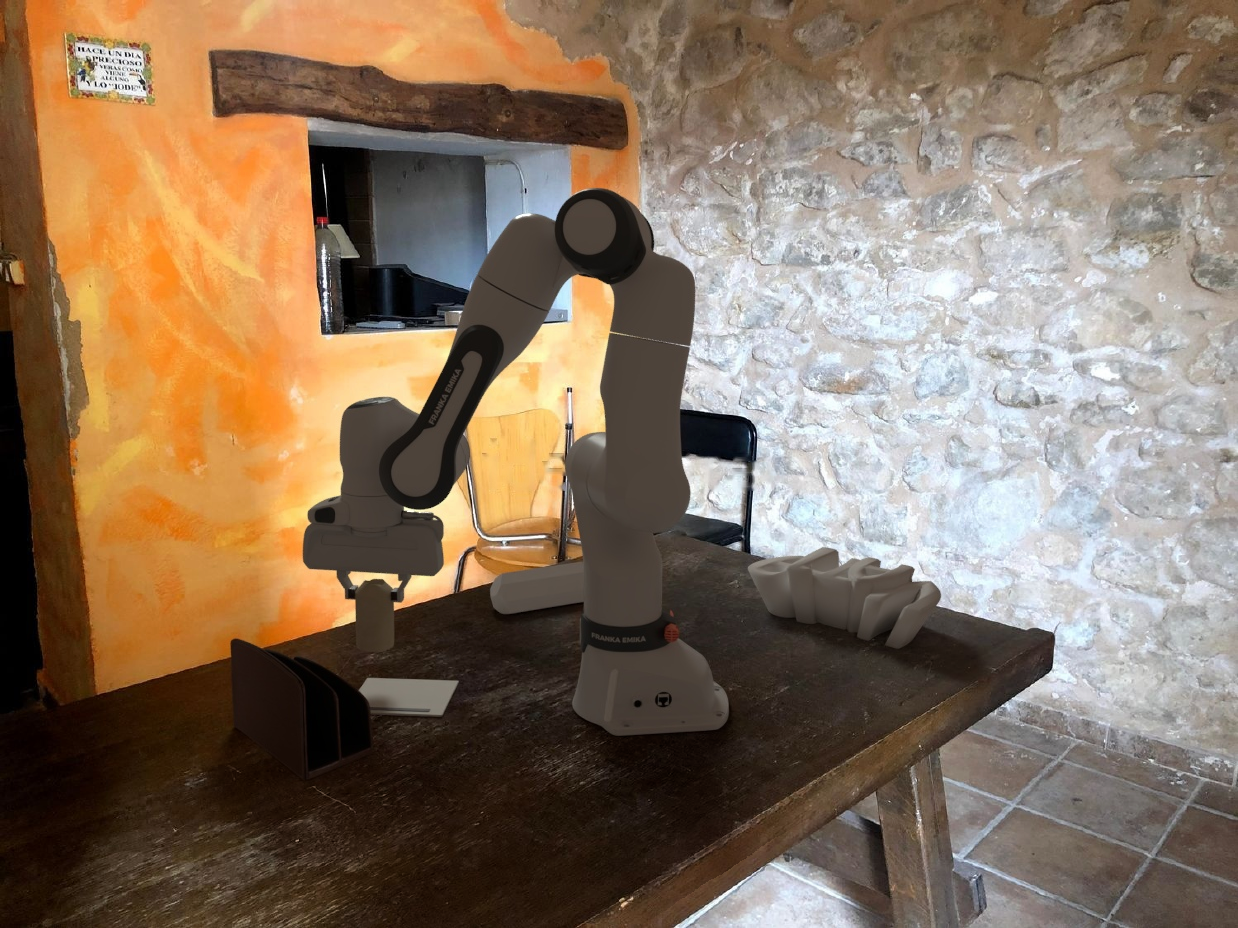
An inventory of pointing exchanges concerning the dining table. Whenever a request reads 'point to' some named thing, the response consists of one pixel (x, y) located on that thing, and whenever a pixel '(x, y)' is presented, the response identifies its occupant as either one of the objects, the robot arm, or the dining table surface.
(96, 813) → the dining table surface
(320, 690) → the letter holder
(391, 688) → the white rectangular plate
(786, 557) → the wavy white extrusion
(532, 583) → the grey chamfered bar
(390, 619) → the candle
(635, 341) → the robot arm
